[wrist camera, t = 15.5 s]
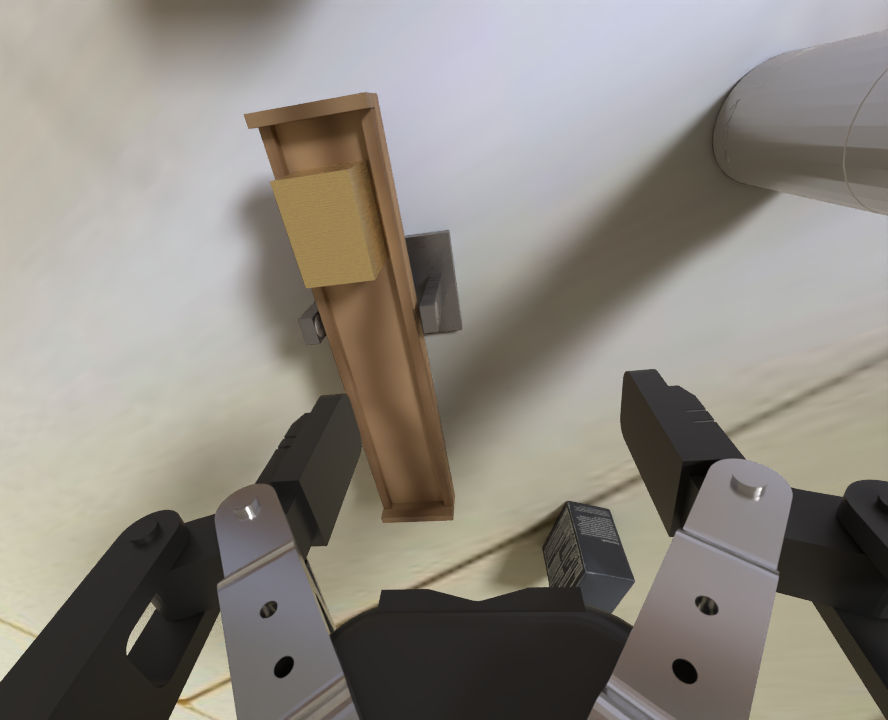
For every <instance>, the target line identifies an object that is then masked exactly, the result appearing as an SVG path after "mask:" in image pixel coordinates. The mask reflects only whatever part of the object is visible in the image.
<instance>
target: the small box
mask: <svg viewBox="0 0 888 720" xmlns="http://www.w3.org/2000/svg"><path fill="white" fill-rule="evenodd" d="M542 549H543V554H544V559H545V564H546V570H547V575H548V581H549V587H581V592H582V597H583V601H584V604H586V605H590V606H594V607H596V608H599V609H602V610H605V611H607V612H609V613H612V612H613V611H614V609H615V608H616V607H617V605H618V604H619V603H620V601H621V600H622V599H623V597H624V596H625V595H626V593H627V592H628V591H629V589H630V588H631V587H632V585H633V584H634V583H635V580H634V577H633V574H632V571H631V568H630V566H629V563H628V560H627V557H626V555H625V552H624V549H623V546H622V543H621V541H620V538H619V535H618V532H617V529H616V526H615V524H614V521H613V518H612V515H611V512H610V510H609V509H605V508H600V507H596V506H591V505H586V504H581V503H577V502H572V501H567V502H566V504H565V506H564V508H563V510H562V512H561V514H560V516H559V517H558V519H557V521H556V523H555V525H554V527H553V529H552V531H551V533H550V534H549V536H548V538H547V540H546V542H545V544H544V546H543V548H542Z"/></svg>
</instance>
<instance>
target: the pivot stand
mask: <svg viewBox="0 0 888 720" xmlns="http://www.w3.org/2000/svg"><path fill="white" fill-rule="evenodd" d="M405 241H406V246H407V252H408V257H409V262H410V267H411V272H412V277H413V282H414V288H415V293H416V298H417V303H418V308H419V313H420V319H421V324H422V329H423V334H424V333H434V332H444V331H454V330H462V321H461V314H460V306H459V299H458V292H457V284H456V277H455V269H454V262H453V254H452V247H451V240H450V232H449V230H445V231H438V232H430V233H422V234H415V235H407V236H405ZM298 321H299V324H300V327H301V330H302V333H303V336H304V339H305V341H306V344H307V345H312V344H320V343H321V341H322V340H323V339H324V337H325V336H326V331H325V328H324V325H323V322H322V319H321V316H320V313H319V310H318V307H317V304H316V301H315V302H314V303H313V304H312V305H311V306H310V307H309V309H308V310H307V311H306V312H305V313H304V314H303V315H302V316H301V317H300V318H299V319H298Z"/></svg>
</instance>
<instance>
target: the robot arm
mask: <svg viewBox="0 0 888 720" xmlns="http://www.w3.org/2000/svg"><path fill="white" fill-rule="evenodd" d="M713 148H714V154H715V158H716V160H717V162H718V164H719V167H720V168H721V169H722V170H723V171H724V173H725V174H726V175H728V176H729V177H731V178H732V179H734V180H735V181H738V182H741V183H744V184H749V185H753V186H757V187H762V188H766V189H770V190H774V191H779V192H783V193H788V194H792V195H797V196H801V197H806V198H810V199H815V200H819V201H824V202H828V203H833V204H837V205H842V206H846V207H851V208H855V209H860V210H864V211H869V212H873V213H878V214H883V215H888V30H884V31H879V32H875V33H871V34H866V35H862V36H858V37H853V38H849V39H845V40H840V41H836V42H832V43H826V44H822V45H817V46H813V47H809V48H804V49H800V50H796V51H791V52H787V53H783V54H781V55H778V56H775V57H773V58H770V59H768V60H767V61H765V62H763V63H762V64H760V65H758V66H757V67H755V68H754V69H753V70H752V71H750V72H749V73H748V74H747V75H746V76H744V77H743V78H742V79H741V80H740V82H739V83H738V84H737V85H736V86H735V87H734V88H733V90H732V91H731V92H730V94H729V96H728V97H727V99H726V100H725V102H724V103H723V105H722V108H721V110H720V112H719V115H718V117H717V120H716V124H715V128H714V134H713ZM620 423H621V430H622V434H623V437H624V440H625V442H626V444H627V446H628V448H629V451H630V453H631V455H632V457H633V459H634V461H635V464H636V466H637V468H638V470H639V472H640V474H641V477H642V479H643V481H644V483H645V485H646V487H647V490H648V492H649V494H650V496H651V498H652V500H653V503H654V505H655V507H656V509H657V511H658V513H659V516H660V518H661V520H662V522H663V524H664V526H665V529H666V531H667V533H668V535H669V537H673V540H672V542H671V544H670V546H669V549H668V551H667V553H666V555H665V557H664V560H663V562H662V564H661V566H660V569H659V571H658V573H657V575H656V577H655V580H654V582H653V584H652V586H651V589H650V591H649V593H648V595H647V597H646V600H645V602H644V604H643V606H642V609H641V611H640V613H639V615H638V617H637V620H636V622H635V624H634V626H632V625H630V624H629V623H627V622H625V621H624V620H622V619H621V618H619V617H617V616H615V615H613V614H611V613H609V612H607V611H605V610H602V609H599V608H596V607H594V606H590V605H586V604H584V601H583V597H582V592H581V587H536V588H526V589H522V590H519V591H515V592H512V593H508V594H504V595H501V596H497V597H494V598H490V599H487V600H483V601H472V600H468V599H464V598H461V597H457V596H453V595H449V594H445V593H441V592H437V591H433V590H429V589H406V590H382V591H381V595H380V600H379V605H378V607H375V608H372V609H370V610H367V611H365V612H363V613H361V614H359V615H357V616H355V617H353V618H352V619H350V620H348V621H347V622H346V623H344V624H343V625H341V626H340V627H339V628H338V629H336V627H335V625H334V622H333V620H332V618H331V615H330V613H329V610H328V608H327V605H326V603H325V601H324V598H323V596H322V593H321V591H320V588H319V586H318V583H317V581H316V578H315V576H314V573H313V571H312V568H311V566H310V563H309V561H308V559H307V555H308V552H309V550H310V547H311V546H327V545H328V542H329V539H330V537H331V534H332V531H333V528H334V525H335V523H336V520H337V517H338V514H339V512H340V509H341V506H342V503H343V500H344V498H345V495H346V492H347V489H348V487H349V484H350V481H351V478H352V475H353V473H354V470H355V467H356V464H357V462H358V459H359V456H360V453H361V434H360V431H359V427H358V424H357V421H356V418H355V414H354V411H353V408H352V405H351V401H350V399H349V397H348V395H347V394H335V395H322V396H320V397H319V399H318V401H317V402H316V404H315V406H314V407H313V409H312V411H311V413H305V414H304V415H302V416H301V417H300V418H299V419H298V420H297V421H295V422H294V423H293V424H292V425H291V427H290V428H289V430H288V432H287V433H286V435H285V436H284V437H285V439H283V440H282V441H281V443H280V445H279V446H278V449H276V451H275V453H274V454H273V456H272V457H271V459H270V461H269V462H268V464H267V465H266V467H265V469H264V470H263V472H262V473H261V475H260V477H259V478H258V480H257V481H256V483H255V484H253V485H249V486H246V487H244V488H241V489H239V490H238V491H236V492H234V493H233V494H231V495H230V496H229V497H228V498H226V499H225V500H224V501H223V502H222V504H221V505H220V506H219V508H218V509H217V511H216V514H213V515H210V516H206V517H203V518H200V519H196V520H193V521H190V522H187V523H184V522H183V520H182V519H181V517H180V516H179V514H178V513H177V512H175V511H173V510H162V511H158V512H154V513H152V514H149V515H147V516H145V517H143V518H141V519H139V520H138V521H136V522H135V523H133V524H132V525H130V526H129V527H128V528H127V529H126V530H125V531H124V532H122V534H121V535H120V536H119V537H118V538H117V539H116V541H115V542H114V543H113V544H112V545H111V547H110V548H109V549H108V550H107V552H106V553H105V554H104V555H103V557H102V558H101V559H100V560H99V561H98V563H97V564H96V565H95V566H94V568H93V569H92V570H91V571H90V573H89V574H88V575H87V576H86V577H85V579H84V580H83V581H82V582H81V584H80V585H79V586H78V587H77V589H76V590H75V591H74V592H73V593H72V595H71V596H70V597H69V598H68V600H67V601H66V602H65V603H64V605H63V606H62V607H61V608H60V609H59V611H58V612H57V613H56V614H55V616H54V617H53V618H52V619H51V621H50V622H49V623H48V624H47V625H46V627H45V628H44V629H43V630H42V632H41V633H40V634H39V635H38V637H37V638H36V639H35V640H34V641H33V643H32V644H31V645H30V646H29V648H28V649H27V650H26V651H25V653H24V654H23V655H22V656H21V657H20V659H19V660H18V661H17V662H16V664H15V665H14V666H13V667H12V669H11V670H10V671H9V672H8V673H7V675H6V676H5V677H4V678H3V680H2V681H1V682H0V720H169V717H170V715H171V713H172V711H173V709H174V707H175V705H176V703H177V701H178V699H179V696H180V694H181V692H182V690H183V688H184V686H185V684H186V682H187V680H188V678H189V675H190V673H191V671H192V669H193V667H194V665H195V663H196V661H197V659H198V657H199V655H200V652H201V650H202V648H203V646H204V644H205V642H206V640H207V638H208V636H209V634H210V631H211V629H212V627H213V625H214V623H215V621H216V619H217V617H218V615H219V613H220V611H221V617H222V624H223V630H224V637H225V643H226V650H227V656H228V663H229V669H230V676H231V682H232V689H233V695H234V702H235V708H236V715H237V720H749V716H750V711H751V706H752V702H753V697H754V692H755V688H756V683H757V678H758V674H759V669H760V664H761V659H762V655H763V650H764V645H765V641H766V636H767V631H768V627H769V622H770V617H771V613H772V608H773V603H774V598H775V594H776V592H778V593H782V594H785V595H789V596H793V597H797V598H801V599H805V600H809V601H812V602H813V604H814V606H815V607H816V609H817V610H818V612H819V613H820V615H821V617H822V618H823V620H824V621H825V623H826V625H827V626H828V628H829V629H830V631H831V633H832V634H833V636H834V637H835V639H836V640H837V642H838V644H839V645H840V647H841V648H842V650H843V652H844V653H845V655H846V656H847V658H848V660H849V661H850V663H851V664H852V666H853V667H854V669H855V671H856V672H857V674H858V675H859V677H860V679H861V680H862V682H863V683H864V685H865V687H866V688H867V690H868V691H869V693H870V694H871V696H872V698H873V699H874V701H875V702H876V704H877V706H878V707H879V709H880V710H881V712H882V714H883V715H884V717H885V718H886V720H888V482H886V481H880V480H861V481H856V482H854V483H852V484H850V485H849V486H848V487H847V489H846V491H845V493H844V496H843V497H840V496H834V495H828V494H822V493H817V492H811V491H805V490H800V489H795V488H792V487H790V485H789V484H788V482H787V481H786V480H785V479H784V478H783V477H782V476H781V475H779V474H778V473H777V472H775V471H774V470H772V469H770V468H768V467H766V466H764V465H762V464H759V463H756V462H753V461H749V460H746V459H745V458H744V456H743V455H742V454H741V453H740V451H739V450H738V449H737V448H736V446H735V445H734V444H733V443H732V441H731V440H730V439H729V438H728V436H727V435H726V434H725V433H724V431H723V430H722V429H721V428H720V426H719V425H718V424H717V423H716V422H714V419H713V418H712V416H711V415H710V414H709V413H708V411H706V410H705V407H704V406H703V405H702V404H701V402H700V401H699V400H698V399H697V397H696V396H695V395H693V394H691V393H690V392H688V391H686V390H685V389H683V388H682V387H680V386H668V385H667V384H666V382H665V381H664V380H663V378H662V377H661V376H660V374H659V373H658V371H657V370H655V369H649V370H637V371H626V372H625V373H624V377H623V387H622V401H621V414H620ZM150 602H151V603H152V604H153V605H154V606H155V607H156V610H155V611H154V613H153V615H152V616H151V618H150V620H149V621H148V623H147V624H146V626H145V628H144V629H143V631H142V633H141V634H140V636H139V637H138V639H137V641H136V642H135V644H134V646H133V647H132V649H131V651H130V652H129V654H128V655H127V654H126V647H127V641H128V638H129V636H130V634H131V632H132V630H133V629H134V627H135V625H136V624H137V622H138V621H139V619H140V617H141V616H142V614H143V613H144V611H145V610H146V608H147V606H148V605H149V603H150Z"/></svg>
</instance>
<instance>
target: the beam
mask: <svg viewBox="0 0 888 720" xmlns="http://www.w3.org/2000/svg"><path fill="white" fill-rule="evenodd" d="M244 117H245V120H246V123H247V126H248V129H251V128H259V131H260V134H261V137H262V140H263V143H264V147H265V150H266V153H267V156H268V159H269V162H270V165H271V168H272V171H273V174H274V177H275V180H276V179H278V178H281V177H284V176H286V175H289V174H292V173H294V172H297V171H300V170H306V169H313V168H319V167H325V166H331V165H338V164H344V163H350V162H356V161H363V160H367V163H368V167H369V172H370V177H371V181H372V186H373V190H374V195H375V199H376V204H377V208H378V213H379V217H380V222H381V227H382V231H383V236H384V240H385V245H386V249H387V254H388V259H387V260H386V262H385V264H384V266H383V267H382V269H381V271H380V272H379V274H378V276H377V278H376V279H375V280H372V281H364V282H356V283H347V284H339V285H330V286H322V287H314V288H311V289H312V292H313V295H314V298H315V301H316V304H317V307H318V310H319V313H320V316H321V319H322V322H323V325H324V328H325V331H326V334H327V337H328V340H329V343H330V346H331V349H332V353H333V356H334V359H335V362H336V365H337V368H338V371H339V374H340V377H341V380H342V383H343V386H344V389H345V392H346V394H347V395H348V397H349V399H350V401H351V405H352V408H353V411H354V414H355V418H356V421H357V424H358V427H359V431H360V434H361V440H362V443H363V446H364V449H365V452H366V456H367V459H368V462H369V465H370V468H371V471H372V474H373V477H374V480H375V483H376V486H377V489H378V492H379V495H380V498H381V501H382V504H383V507H384V509H383V513H382V518H381V519H382V522H383V523H393V522H419V521H446V520H453V516H454V499H455V494H454V489H453V483H452V478H451V473H450V468H449V463H448V458H447V452H446V447H445V442H444V437H443V432H442V427H441V422H440V416H439V411H438V406H437V401H436V396H435V391H434V385H433V380H432V375H431V370H430V365H429V360H428V355H427V349H426V344H425V339H424V334H423V329H422V324H421V319H420V313H419V308H418V303H417V298H416V293H415V288H414V282H413V277H412V272H411V267H410V262H409V257H408V252H407V246H406V241H405V236H404V231H403V226H402V221H401V216H400V210H399V205H398V200H397V195H396V190H395V185H394V179H393V174H392V169H391V164H390V159H389V154H388V149H387V143H386V138H385V133H384V128H383V123H382V118H381V112H380V107H379V102H378V97H377V94H376V93H366V92H364V93H359V94H353V95H348V96H342V97H337V98H331V99H326V100H320V101H315V102H309V103H304V104H298V105H293V106H287V107H282V108H276V109H271V110H265V111H260V112H255V113H249V114H244Z"/></svg>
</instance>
